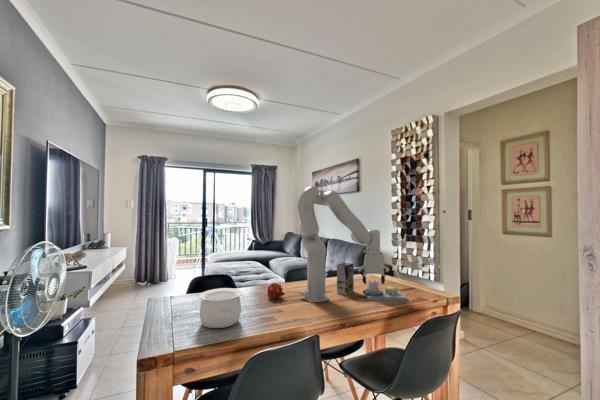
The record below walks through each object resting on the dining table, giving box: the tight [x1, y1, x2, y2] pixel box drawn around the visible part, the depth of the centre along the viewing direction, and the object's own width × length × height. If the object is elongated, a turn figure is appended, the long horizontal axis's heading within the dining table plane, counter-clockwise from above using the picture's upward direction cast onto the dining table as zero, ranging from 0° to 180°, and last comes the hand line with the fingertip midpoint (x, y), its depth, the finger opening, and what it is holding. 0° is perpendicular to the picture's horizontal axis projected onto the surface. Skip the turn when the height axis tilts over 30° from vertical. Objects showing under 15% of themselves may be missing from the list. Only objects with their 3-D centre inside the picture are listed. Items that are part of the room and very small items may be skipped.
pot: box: [198, 287, 243, 329], centre depth 118 cm, size 22×17×12 cm
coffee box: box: [336, 262, 355, 296], centre depth 161 cm, size 9×6×16 cm
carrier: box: [363, 279, 408, 301], centre depth 154 cm, size 20×14×8 cm
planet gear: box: [362, 280, 383, 296], centre depth 154 cm, size 11×11×6 cm
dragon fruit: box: [267, 282, 285, 301], centre depth 151 cm, size 8×8×12 cm
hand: (373, 283), depth 154 cm, fingers open, 9 cm apart
